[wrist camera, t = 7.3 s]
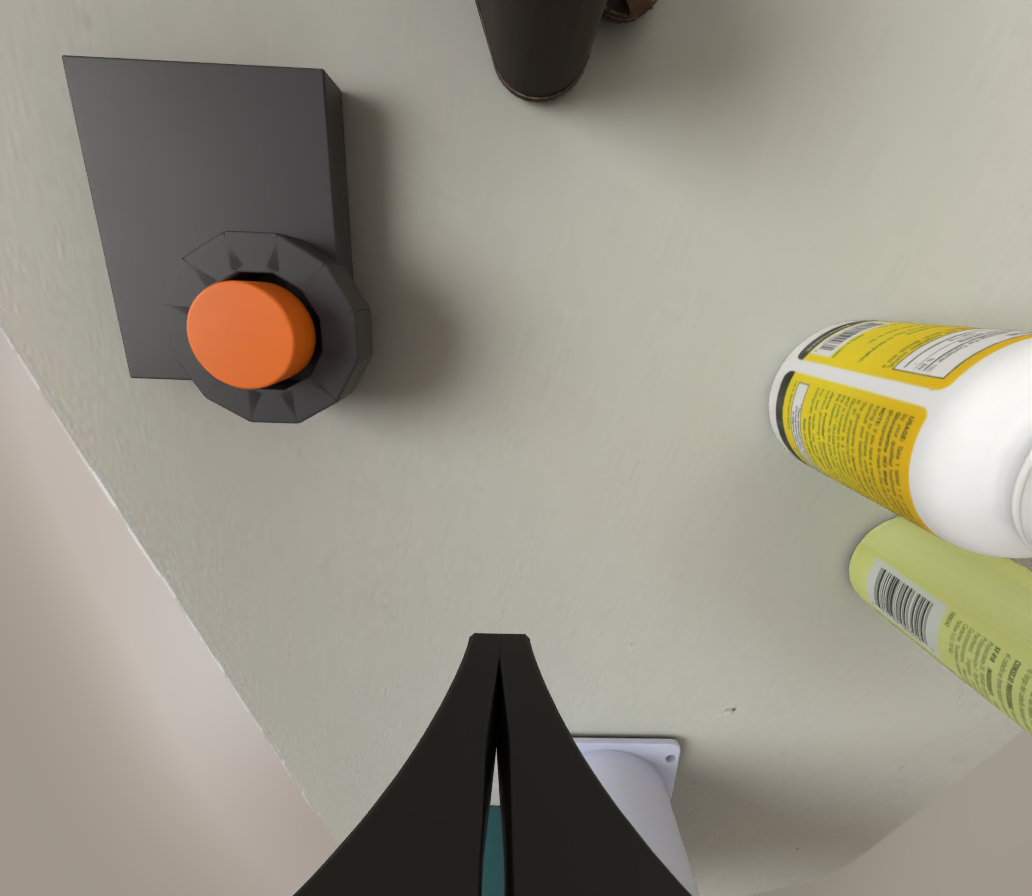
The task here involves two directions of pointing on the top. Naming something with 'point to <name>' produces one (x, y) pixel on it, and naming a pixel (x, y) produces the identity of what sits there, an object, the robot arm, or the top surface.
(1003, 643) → the tube
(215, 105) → the push button switch
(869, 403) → the pill bottle
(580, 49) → the camera
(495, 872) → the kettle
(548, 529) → the top surface
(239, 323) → the switch button
